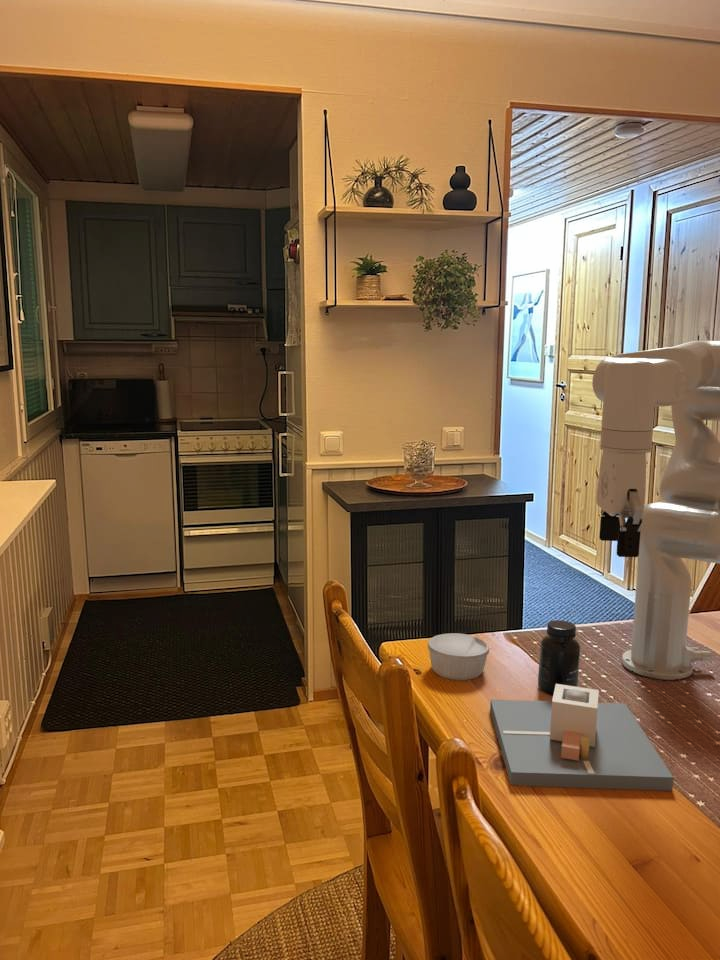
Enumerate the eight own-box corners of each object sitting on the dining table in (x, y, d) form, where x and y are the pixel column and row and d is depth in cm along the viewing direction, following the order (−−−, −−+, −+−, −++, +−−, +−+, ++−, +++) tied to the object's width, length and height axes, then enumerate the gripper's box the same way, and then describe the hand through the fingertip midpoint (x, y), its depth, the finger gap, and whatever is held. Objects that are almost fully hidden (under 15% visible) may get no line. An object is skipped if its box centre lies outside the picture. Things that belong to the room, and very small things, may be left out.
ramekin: (497, 680, 140) (498, 653, 139) (439, 686, 137) (440, 658, 136) (473, 656, 151) (474, 630, 150) (419, 661, 148) (420, 635, 147)
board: (624, 714, 127) (628, 665, 126) (672, 790, 106) (677, 732, 104) (490, 710, 128) (492, 661, 127) (510, 785, 106) (513, 727, 105)
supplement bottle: (578, 699, 132) (583, 633, 130) (538, 695, 134) (541, 630, 132) (576, 683, 139) (580, 619, 137) (537, 679, 140) (540, 616, 138)
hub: (553, 719, 120) (555, 683, 119) (596, 726, 118) (598, 690, 117) (546, 755, 110) (548, 715, 109) (593, 763, 108) (596, 723, 107)
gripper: (587, 434, 128) (580, 534, 131) (617, 447, 111) (609, 562, 114) (633, 434, 128) (625, 535, 131) (670, 448, 111) (660, 564, 114)
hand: (618, 548), depth 122 cm, fingers open, 9 cm apart
